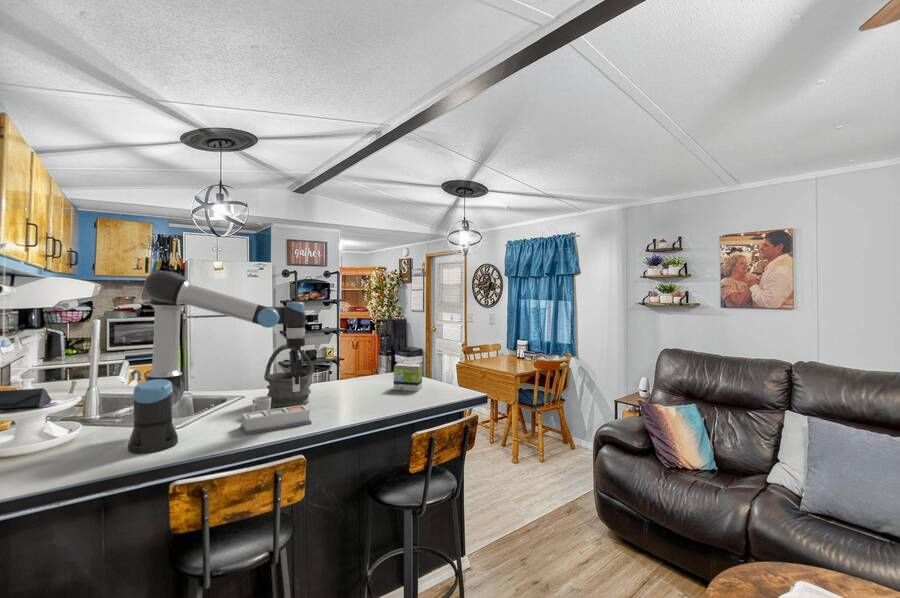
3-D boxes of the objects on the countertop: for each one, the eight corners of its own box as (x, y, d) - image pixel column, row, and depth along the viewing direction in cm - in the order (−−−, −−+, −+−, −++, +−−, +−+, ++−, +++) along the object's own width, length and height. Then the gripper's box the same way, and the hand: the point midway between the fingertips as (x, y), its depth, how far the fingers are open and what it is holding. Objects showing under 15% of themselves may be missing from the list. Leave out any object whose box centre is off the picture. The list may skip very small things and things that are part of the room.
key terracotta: (291, 416, 182) (291, 411, 182) (288, 413, 186) (288, 409, 186) (303, 414, 185) (303, 409, 185) (299, 411, 189) (299, 407, 189)
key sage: (271, 419, 178) (271, 414, 178) (268, 416, 182) (268, 411, 182) (284, 417, 180) (284, 412, 180) (281, 414, 185) (281, 410, 185)
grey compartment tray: (245, 435, 169) (245, 420, 169) (240, 427, 179) (240, 413, 178) (311, 423, 184) (311, 410, 184) (303, 416, 194) (303, 404, 193)
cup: (260, 420, 188) (260, 402, 188) (244, 419, 190) (244, 401, 189) (274, 413, 199) (274, 396, 198) (259, 412, 200) (259, 395, 200)
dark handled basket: (274, 397, 228) (274, 342, 227) (318, 397, 228) (318, 342, 228) (257, 409, 206) (257, 347, 205) (305, 409, 206) (305, 347, 206)
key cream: (250, 422, 173) (250, 417, 173) (248, 419, 177) (248, 414, 177) (263, 420, 176) (263, 415, 176) (261, 417, 180) (261, 413, 180)
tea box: (393, 390, 246) (393, 365, 246) (398, 386, 256) (398, 362, 256) (418, 391, 244) (418, 366, 244) (422, 387, 254) (422, 363, 254)
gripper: (309, 338, 182) (309, 393, 182) (300, 335, 193) (300, 387, 193) (290, 339, 178) (291, 395, 178) (283, 336, 188) (283, 389, 189)
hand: (296, 391), depth 186 cm, fingers closed
